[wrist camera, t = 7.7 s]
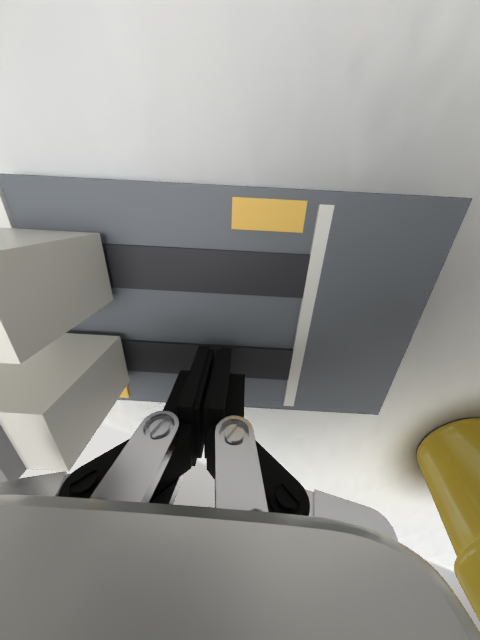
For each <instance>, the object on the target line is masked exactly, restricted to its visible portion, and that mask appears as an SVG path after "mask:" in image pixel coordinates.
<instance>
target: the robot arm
mask: <svg viewBox="0 0 480 640" xmlns="http://www.w3.org/2000/svg"><path fill="white" fill-rule="evenodd" d="M231 361H232V347H221V350H219V349H217V351H216V356H215V360H214V349H210V346H201V345H199V347H198V350H197V352H196V355H195V358H194V361H193V363H192V366H191V369H190V370H181V371H180V372H179V374H178V377H177V379H176V381H175V384H174V386H173V388H172V391H171V393H170V395H169V398H168V400H167V402H166V405H165V407H164V409H163V411H158V412H155V413H152V414H150V415H149V416H147V417H146V418H145V419H144V420H143V421H142V422H141V424H140V425H139V427H138V428H137V430H136V431H135V433H134V434H133V436H132V437H131V438H130V439H129V440H127V441H125V442H123V443H122V444H120V445H118V446H116V447H115V448H113V449H111V450H109V451H108V452H106V453H104V454H102V455H101V456H99V457H97V458H95V459H94V460H92V461H90V462H88V463H87V464H85V465H83V466H81V467H80V468H78V469H77V470H75V471H74V472H73V473H72V474H67V472H66V471H65V472H58V473H53V474H47V475H39V476H33V477H27V478H21V479H14V480H8V481H4V482H0V640H480V632H479V631H478V629H477V627H476V626H475V624H474V622H473V621H472V619H471V617H470V616H469V614H468V613H467V612H466V610H465V608H464V606H463V605H462V603H461V602H460V600H459V599H458V598H457V596H456V595H455V593H454V592H453V590H452V589H451V588H450V586H449V585H448V584H447V582H446V581H445V580H444V579H443V577H442V576H441V575H440V574H439V573H438V572H437V571H436V570H435V569H434V568H433V567H432V566H431V565H430V564H429V563H428V562H427V561H426V560H424V559H423V558H422V557H421V556H419V555H418V554H417V553H415V552H414V551H412V550H411V549H409V548H408V547H406V546H405V545H403V544H401V543H400V542H398V540H397V537H396V534H395V532H394V529H393V527H392V526H391V524H390V523H389V522H388V520H387V519H386V518H385V517H384V516H383V515H382V514H381V513H379V512H378V511H376V510H374V509H372V508H370V507H367V506H364V505H361V504H358V503H355V502H352V501H349V500H345V499H342V498H339V497H336V496H333V495H330V494H327V493H324V492H321V491H318V490H314V492H312V491H308V490H305V489H304V488H303V486H302V485H301V484H300V483H299V482H298V481H297V480H296V479H295V478H294V477H293V476H292V475H291V474H290V473H289V472H288V471H287V470H286V469H285V468H284V467H283V466H282V465H281V464H279V463H278V462H277V461H276V460H275V459H274V458H273V457H272V456H271V455H270V454H269V453H268V452H267V451H266V450H265V449H264V448H263V447H262V446H261V445H260V444H259V443H258V442H257V441H256V440H255V436H254V431H253V428H252V425H251V424H250V423H249V421H248V420H246V419H245V418H244V394H245V374H234V373H231ZM203 447H205V458H207V470H208V471H209V473H210V474H211V475H212V477H213V478H214V479H215V508H210V507H197V506H184V505H183V506H182V505H173V503H174V501H175V498H176V496H177V493H178V490H179V488H180V485H181V483H182V480H183V476H184V473H185V472H187V471H188V470H189V469H190V468H191V466H195V464H196V460H197V458H201V457H202V452H203Z"/></svg>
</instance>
